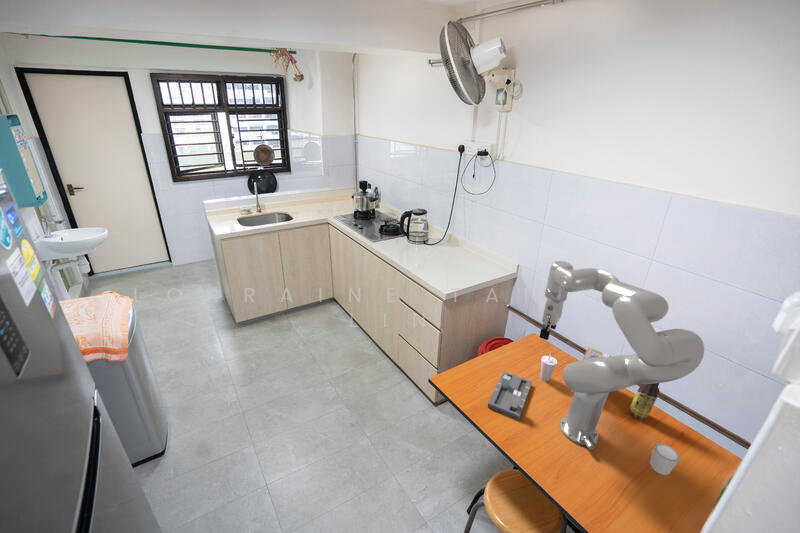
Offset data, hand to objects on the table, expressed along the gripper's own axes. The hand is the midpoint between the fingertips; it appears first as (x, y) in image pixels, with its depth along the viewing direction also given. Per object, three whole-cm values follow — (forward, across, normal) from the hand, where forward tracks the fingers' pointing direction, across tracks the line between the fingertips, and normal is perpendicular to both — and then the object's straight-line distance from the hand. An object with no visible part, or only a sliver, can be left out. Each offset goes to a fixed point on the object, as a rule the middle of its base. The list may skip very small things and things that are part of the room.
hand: (547, 333), depth 141 cm
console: (+26, -12, +6) cm, 30 cm away
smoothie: (+27, +8, -1) cm, 28 cm away
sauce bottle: (+28, +11, -36) cm, 47 cm away
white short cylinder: (+28, -11, -44) cm, 54 cm away
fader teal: (+25, -10, +10) cm, 29 cm away
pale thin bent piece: (+27, +14, -17) cm, 35 cm away
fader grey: (+25, -18, +3) cm, 31 cm away
